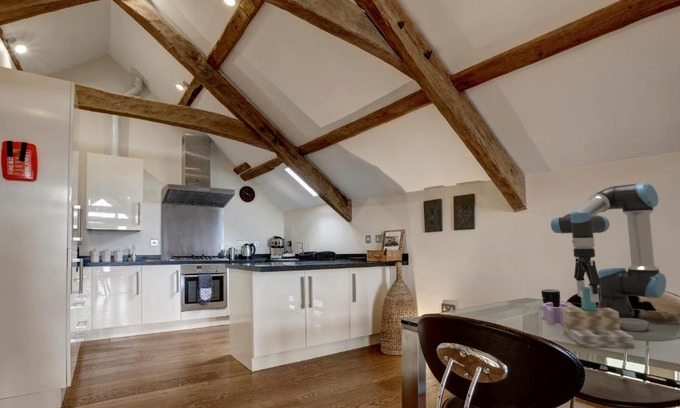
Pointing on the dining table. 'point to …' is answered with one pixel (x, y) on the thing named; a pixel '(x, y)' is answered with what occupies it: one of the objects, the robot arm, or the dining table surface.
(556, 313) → the clip
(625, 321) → the saucepan
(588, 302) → the plug
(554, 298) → the mug
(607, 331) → the socket block
